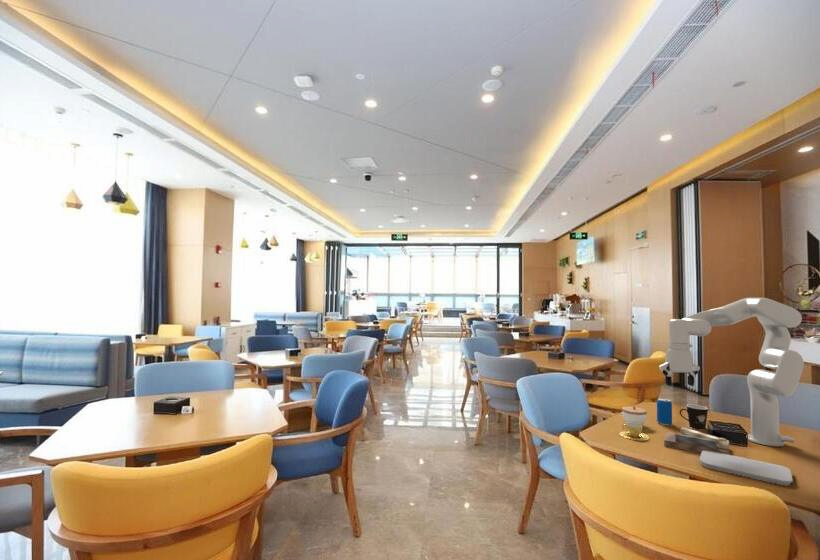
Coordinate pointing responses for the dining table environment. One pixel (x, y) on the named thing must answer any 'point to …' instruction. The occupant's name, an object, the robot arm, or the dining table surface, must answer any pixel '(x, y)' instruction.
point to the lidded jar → (634, 415)
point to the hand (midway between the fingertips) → (679, 385)
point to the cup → (633, 431)
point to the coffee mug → (696, 416)
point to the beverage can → (664, 411)
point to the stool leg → (705, 437)
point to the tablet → (746, 467)
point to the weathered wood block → (692, 443)
